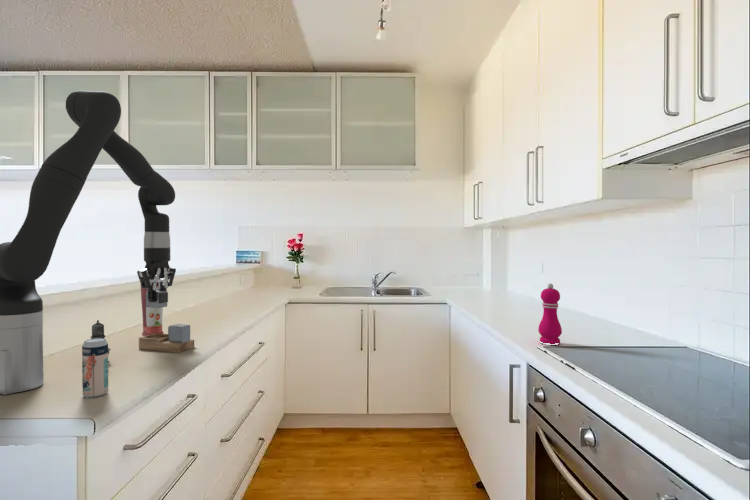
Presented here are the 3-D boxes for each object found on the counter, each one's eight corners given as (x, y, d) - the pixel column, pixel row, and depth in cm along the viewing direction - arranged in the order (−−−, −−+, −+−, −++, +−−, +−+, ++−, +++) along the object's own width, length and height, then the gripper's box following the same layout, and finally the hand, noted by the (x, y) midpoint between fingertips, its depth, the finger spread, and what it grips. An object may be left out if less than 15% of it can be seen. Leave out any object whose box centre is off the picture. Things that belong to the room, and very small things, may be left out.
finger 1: (160, 308, 138) (160, 292, 138) (146, 307, 140) (146, 291, 139) (168, 306, 141) (168, 290, 141) (154, 305, 143) (154, 290, 143)
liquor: (148, 340, 150) (148, 257, 150) (136, 338, 154) (135, 257, 153) (168, 336, 156) (168, 256, 156) (156, 334, 160) (155, 256, 160)
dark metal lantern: (98, 367, 118) (98, 322, 118) (80, 365, 120) (79, 321, 119) (115, 361, 124) (115, 318, 124) (97, 360, 125) (97, 317, 125)
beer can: (80, 394, 97) (79, 340, 97) (105, 389, 100) (104, 336, 100) (85, 400, 94) (84, 343, 93) (111, 395, 97) (110, 340, 97)
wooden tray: (177, 352, 134) (177, 341, 134) (138, 348, 139) (138, 337, 138) (194, 347, 140) (194, 336, 140) (156, 343, 145) (156, 333, 145)
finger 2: (182, 343, 135) (182, 326, 135) (167, 341, 137) (167, 325, 137) (190, 340, 139) (190, 324, 139) (176, 339, 140) (175, 323, 140)
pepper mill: (533, 342, 150) (534, 282, 149) (551, 340, 152) (552, 282, 151) (548, 347, 143) (548, 284, 142) (566, 345, 145) (567, 284, 145)
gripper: (148, 246, 132) (149, 304, 132) (183, 246, 145) (183, 299, 146) (129, 246, 134) (129, 303, 135) (164, 246, 148) (165, 298, 148)
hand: (157, 300), depth 140 cm, fingers closed on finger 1, 3 cm apart
